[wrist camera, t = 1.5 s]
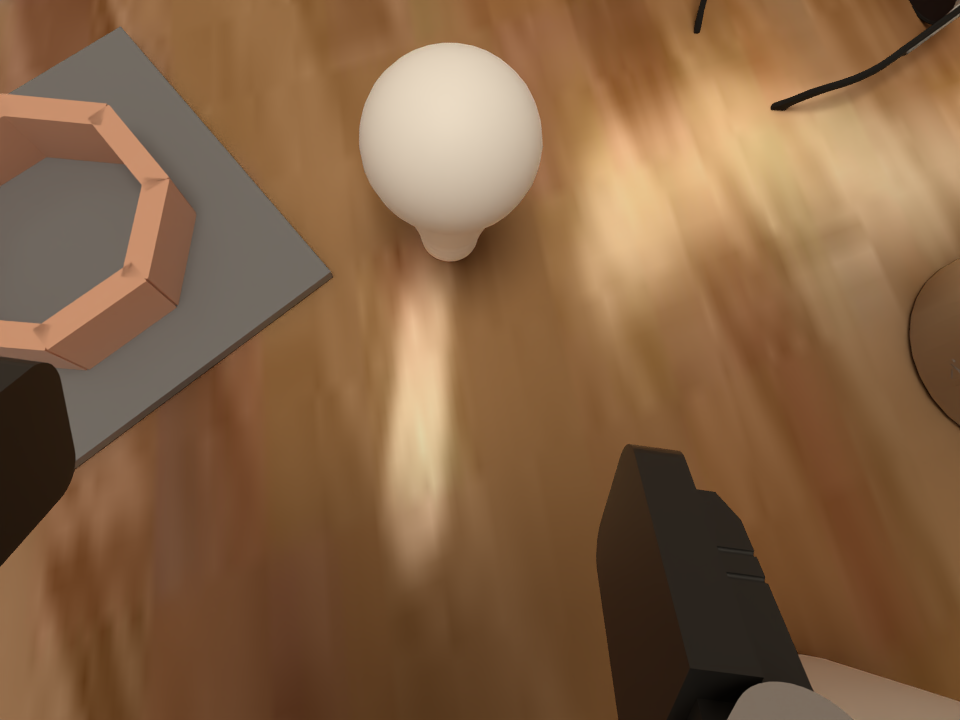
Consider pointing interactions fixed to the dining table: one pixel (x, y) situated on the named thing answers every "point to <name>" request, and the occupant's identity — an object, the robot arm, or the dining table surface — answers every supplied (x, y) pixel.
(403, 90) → the lightbulb
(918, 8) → the sunglasses
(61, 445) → the robot arm
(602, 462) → the dining table surface
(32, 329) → the ring holder
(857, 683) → the alcohol
